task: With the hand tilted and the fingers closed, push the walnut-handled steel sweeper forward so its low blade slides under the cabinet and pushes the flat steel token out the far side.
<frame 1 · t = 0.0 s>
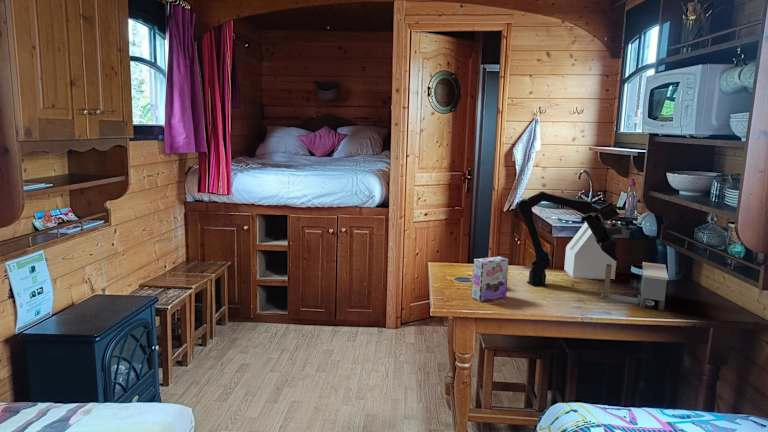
hand: (614, 258, 224), 15 cm above the table, tool tilted 35°, fingers open, 9 cm apart
sweeper: (605, 297, 218), on the table
candy box: (488, 298, 213), on the table
cabinet: (651, 301, 214), on the table
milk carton: (588, 274, 253), on the table
steel token: (648, 304, 211), on the table
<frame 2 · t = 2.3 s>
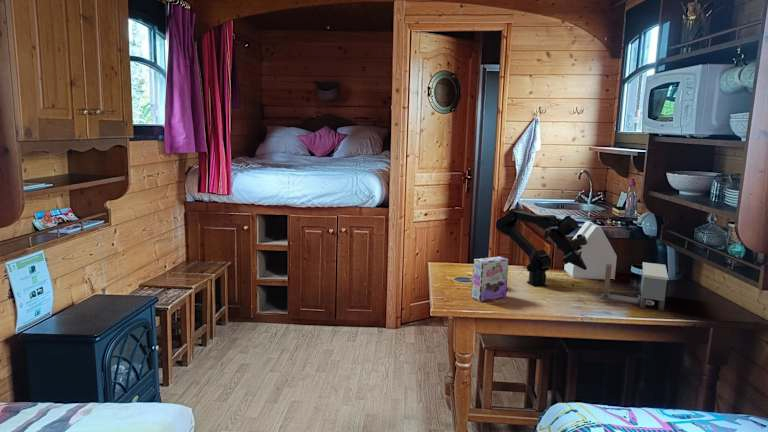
hand: (586, 269, 220), 11 cm above the table, tool tilted 45°, fingers closed
nothing on the table moved.
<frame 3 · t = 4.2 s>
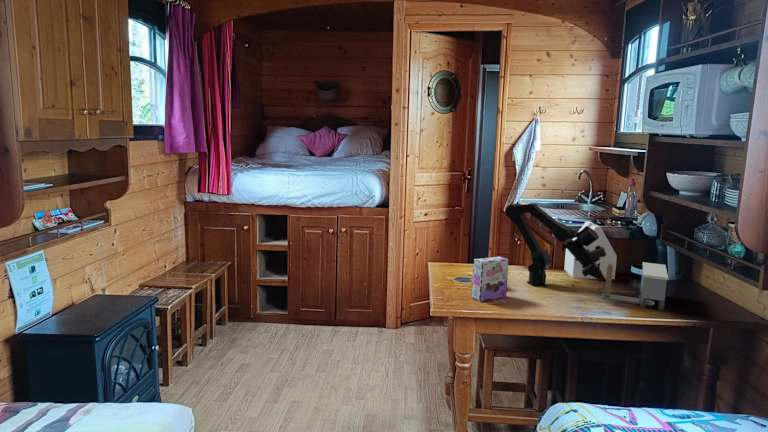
hand: (605, 281, 217), 7 cm above the table, tool tilted 45°, fingers closed, pressing on sweeper
sweeper: (607, 297, 218), on the table, touching gripper
everything else where it was.
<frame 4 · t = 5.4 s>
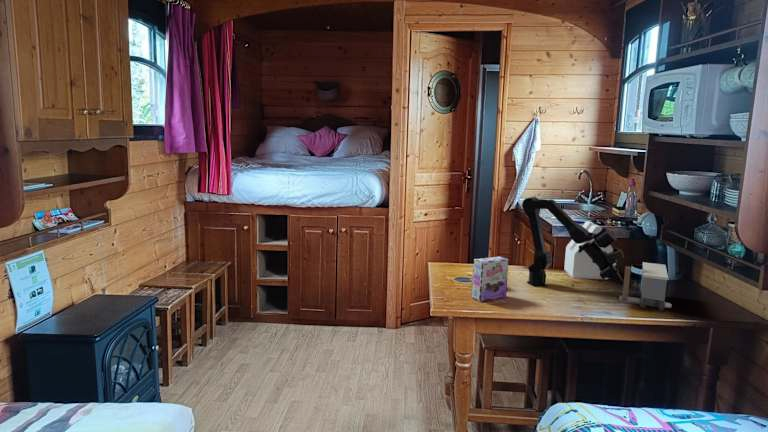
hand: (622, 283, 214), 7 cm above the table, tool tilted 45°, fingers closed, pressing on sweeper
sweeper: (624, 300, 215), on the table, touching gripper
steel token: (665, 306, 209), on the table
everything else where it was.
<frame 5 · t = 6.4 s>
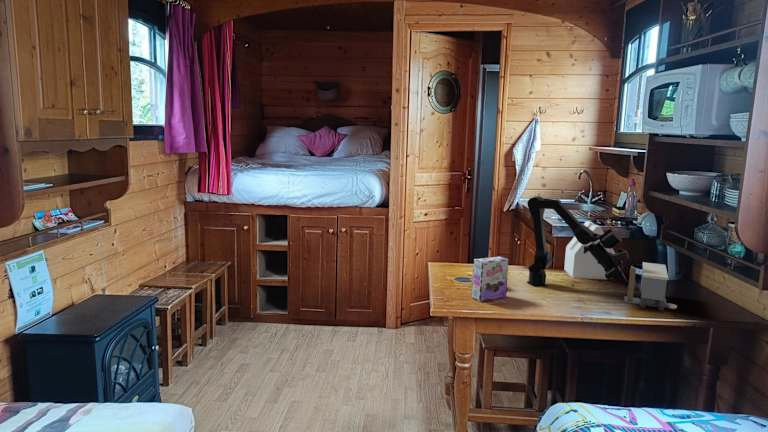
hand: (627, 284, 214), 7 cm above the table, tool tilted 45°, fingers closed, pressing on sweeper
sweeper: (629, 300, 214), on the table, touching gripper
steel token: (671, 307, 208), on the table
everything else where it was.
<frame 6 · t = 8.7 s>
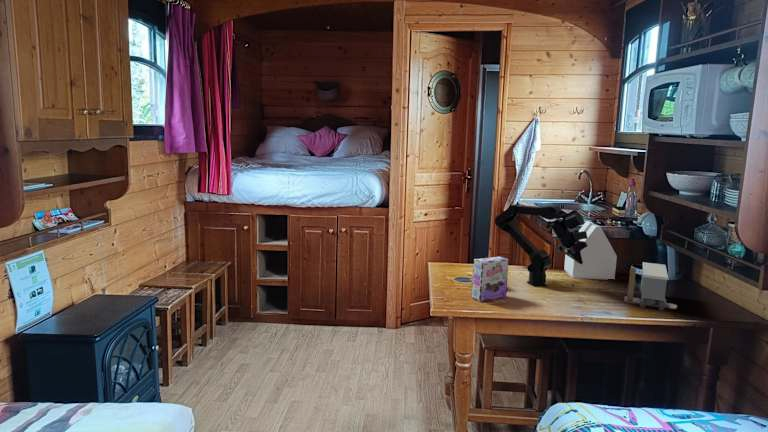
hand: (581, 263, 223), 12 cm above the table, tool tilted 35°, fingers closed
sweeper: (629, 300, 214), on the table
everything else where it was.
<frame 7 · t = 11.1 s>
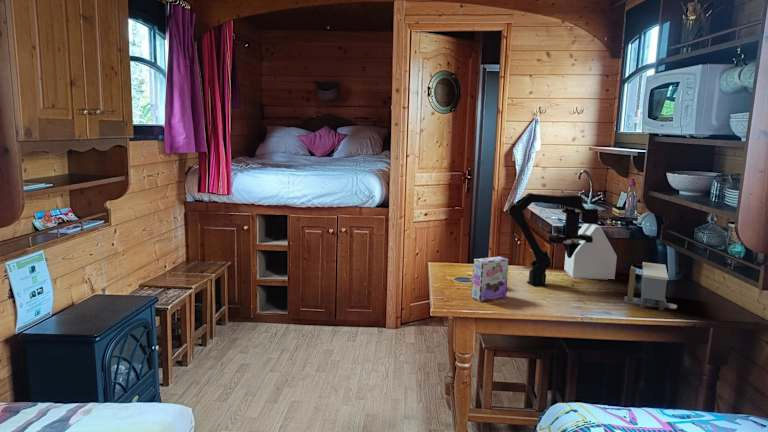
hand: (569, 257, 230), 13 cm above the table, tool pointing down, fingers closed
nothing on the table moved.
at the end: steel token inside the target area on the table beside the cabinet (5.2 cm from its centre), on the table; steel token moved 8.1 cm from its start; sweeper tilted 0° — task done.
